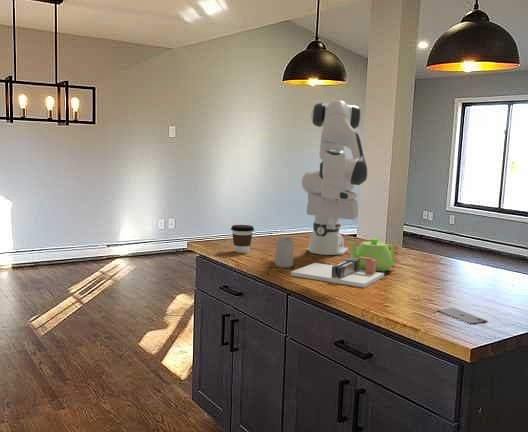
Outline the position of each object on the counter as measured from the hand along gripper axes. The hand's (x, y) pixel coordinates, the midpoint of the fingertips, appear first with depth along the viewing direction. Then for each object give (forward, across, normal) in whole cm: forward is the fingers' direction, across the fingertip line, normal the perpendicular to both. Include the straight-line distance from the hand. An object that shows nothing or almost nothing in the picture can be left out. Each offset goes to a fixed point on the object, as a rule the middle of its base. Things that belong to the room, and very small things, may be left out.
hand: (330, 229), depth 216 cm
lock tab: (+17, +11, +12) cm, 24 cm away
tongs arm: (+17, +4, +2) cm, 18 cm away
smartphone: (+19, +54, -21) cm, 61 cm away
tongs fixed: (+17, +5, +4) cm, 19 cm away
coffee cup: (+19, -54, +22) cm, 62 cm away
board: (+19, +2, +5) cm, 20 cm away
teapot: (+19, +8, +25) cm, 32 cm away
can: (+19, -23, +6) cm, 31 cm away
